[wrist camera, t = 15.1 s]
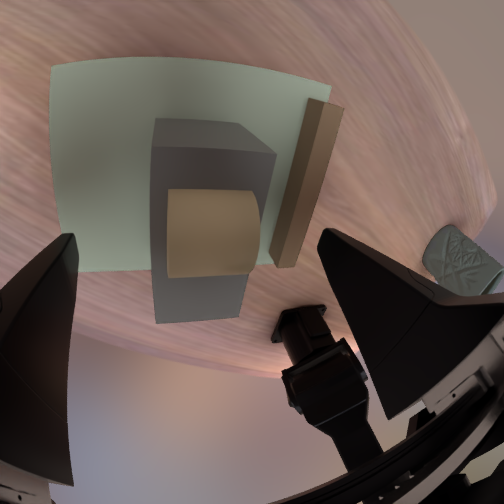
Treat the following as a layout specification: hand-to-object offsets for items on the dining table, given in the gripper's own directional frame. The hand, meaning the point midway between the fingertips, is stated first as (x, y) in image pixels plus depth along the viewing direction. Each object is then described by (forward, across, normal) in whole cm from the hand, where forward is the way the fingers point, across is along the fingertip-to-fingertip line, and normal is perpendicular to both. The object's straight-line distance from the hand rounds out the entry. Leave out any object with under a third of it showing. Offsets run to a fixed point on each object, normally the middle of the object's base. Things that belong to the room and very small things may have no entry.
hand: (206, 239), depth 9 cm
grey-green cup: (+12, -40, +10) cm, 43 cm away
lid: (+7, 0, 0) cm, 7 cm away
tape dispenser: (+6, 0, +1) cm, 6 cm away
